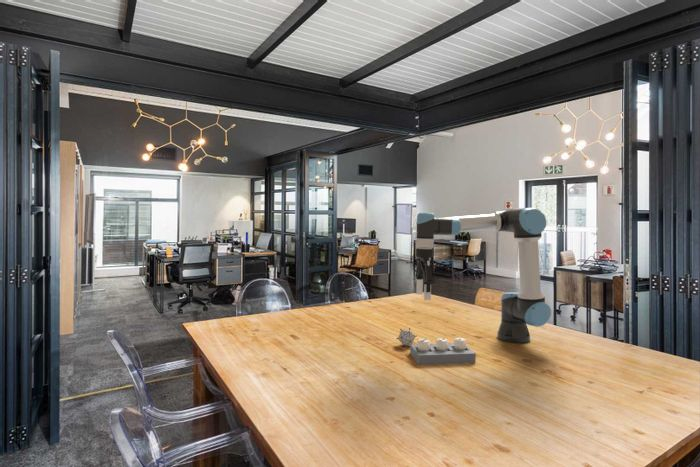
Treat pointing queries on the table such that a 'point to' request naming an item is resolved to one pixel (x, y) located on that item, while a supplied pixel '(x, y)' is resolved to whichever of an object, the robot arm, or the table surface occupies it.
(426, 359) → the button board
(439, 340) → the button
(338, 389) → the table surface
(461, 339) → the button
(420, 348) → the button
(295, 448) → the table surface
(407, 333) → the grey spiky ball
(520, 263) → the robot arm
